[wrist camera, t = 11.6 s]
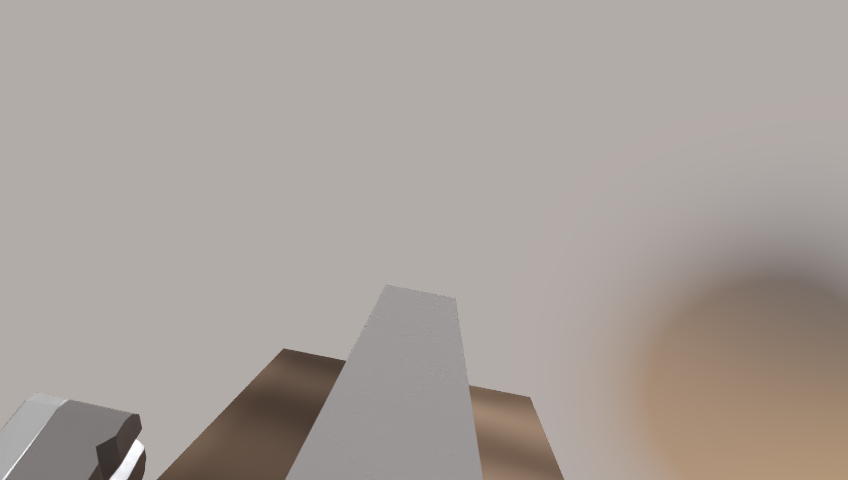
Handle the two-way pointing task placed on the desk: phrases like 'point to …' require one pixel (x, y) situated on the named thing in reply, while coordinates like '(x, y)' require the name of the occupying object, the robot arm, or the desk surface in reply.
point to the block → (398, 400)
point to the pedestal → (300, 406)
